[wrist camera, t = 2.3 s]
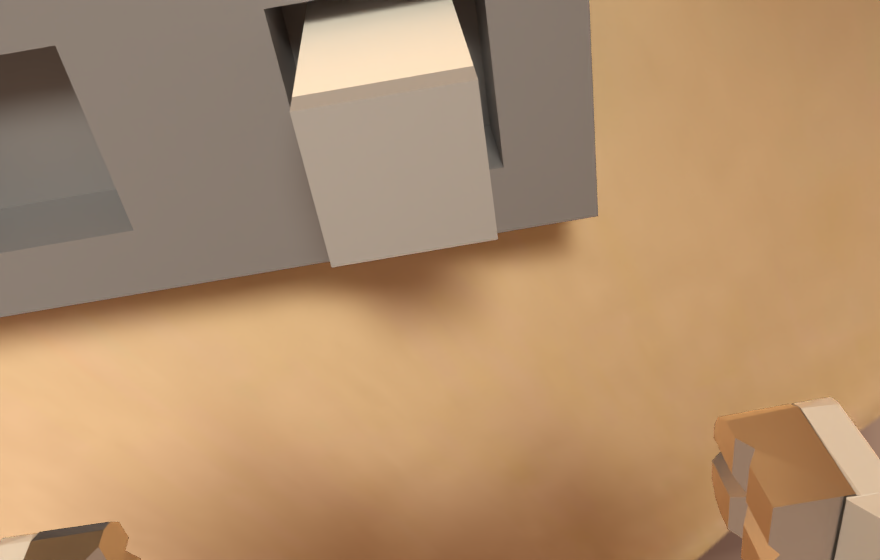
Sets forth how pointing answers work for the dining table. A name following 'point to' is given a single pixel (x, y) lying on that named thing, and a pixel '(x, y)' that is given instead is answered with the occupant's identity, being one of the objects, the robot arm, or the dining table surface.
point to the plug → (391, 129)
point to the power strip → (235, 138)
